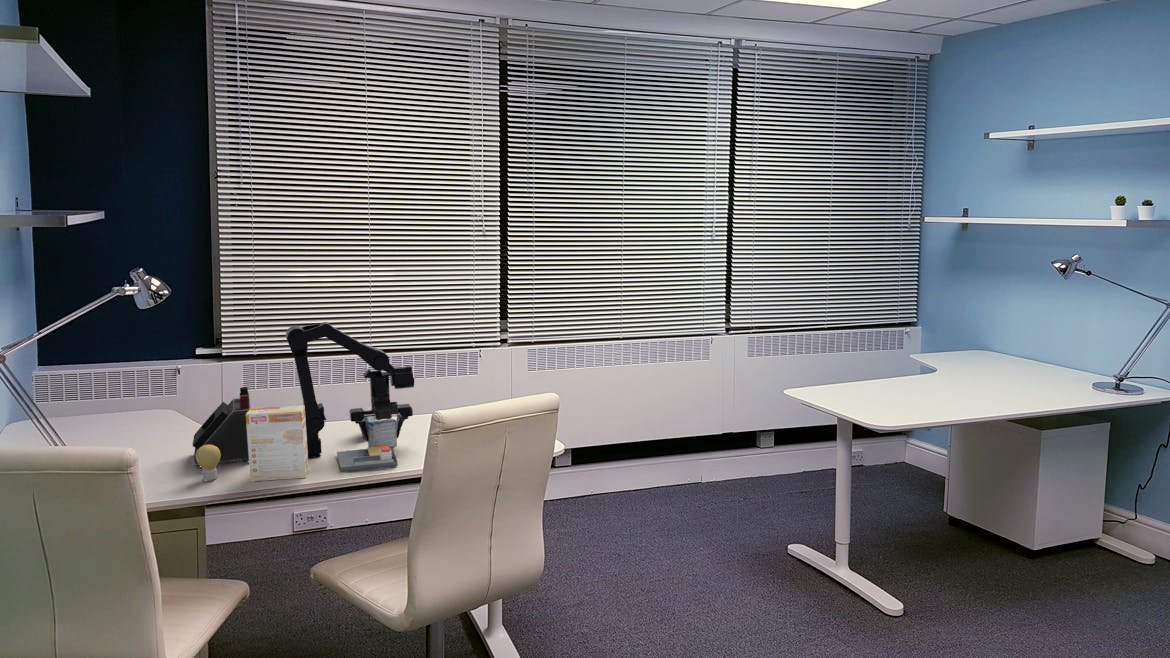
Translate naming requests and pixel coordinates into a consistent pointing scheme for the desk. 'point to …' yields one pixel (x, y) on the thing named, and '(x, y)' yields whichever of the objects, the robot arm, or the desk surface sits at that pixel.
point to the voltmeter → (227, 429)
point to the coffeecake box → (277, 443)
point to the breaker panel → (363, 460)
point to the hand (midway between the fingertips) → (382, 439)
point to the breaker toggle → (385, 453)
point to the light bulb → (208, 461)
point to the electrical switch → (367, 421)
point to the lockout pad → (374, 450)
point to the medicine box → (382, 433)
